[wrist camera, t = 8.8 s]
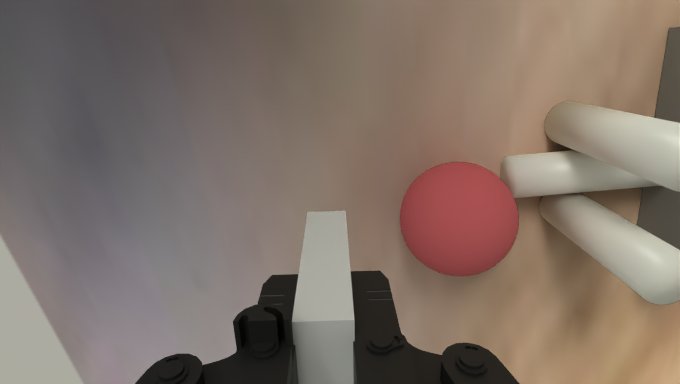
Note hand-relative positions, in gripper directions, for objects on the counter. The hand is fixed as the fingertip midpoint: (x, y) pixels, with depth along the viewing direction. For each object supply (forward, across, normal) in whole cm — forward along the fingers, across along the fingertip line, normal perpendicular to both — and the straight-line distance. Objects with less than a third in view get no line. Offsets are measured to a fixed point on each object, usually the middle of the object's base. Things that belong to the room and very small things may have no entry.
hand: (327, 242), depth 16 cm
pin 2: (+8, +14, -2) cm, 16 cm away
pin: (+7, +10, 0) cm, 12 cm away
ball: (+5, +7, -1) cm, 9 cm away
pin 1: (+8, +14, +3) cm, 16 cm away
